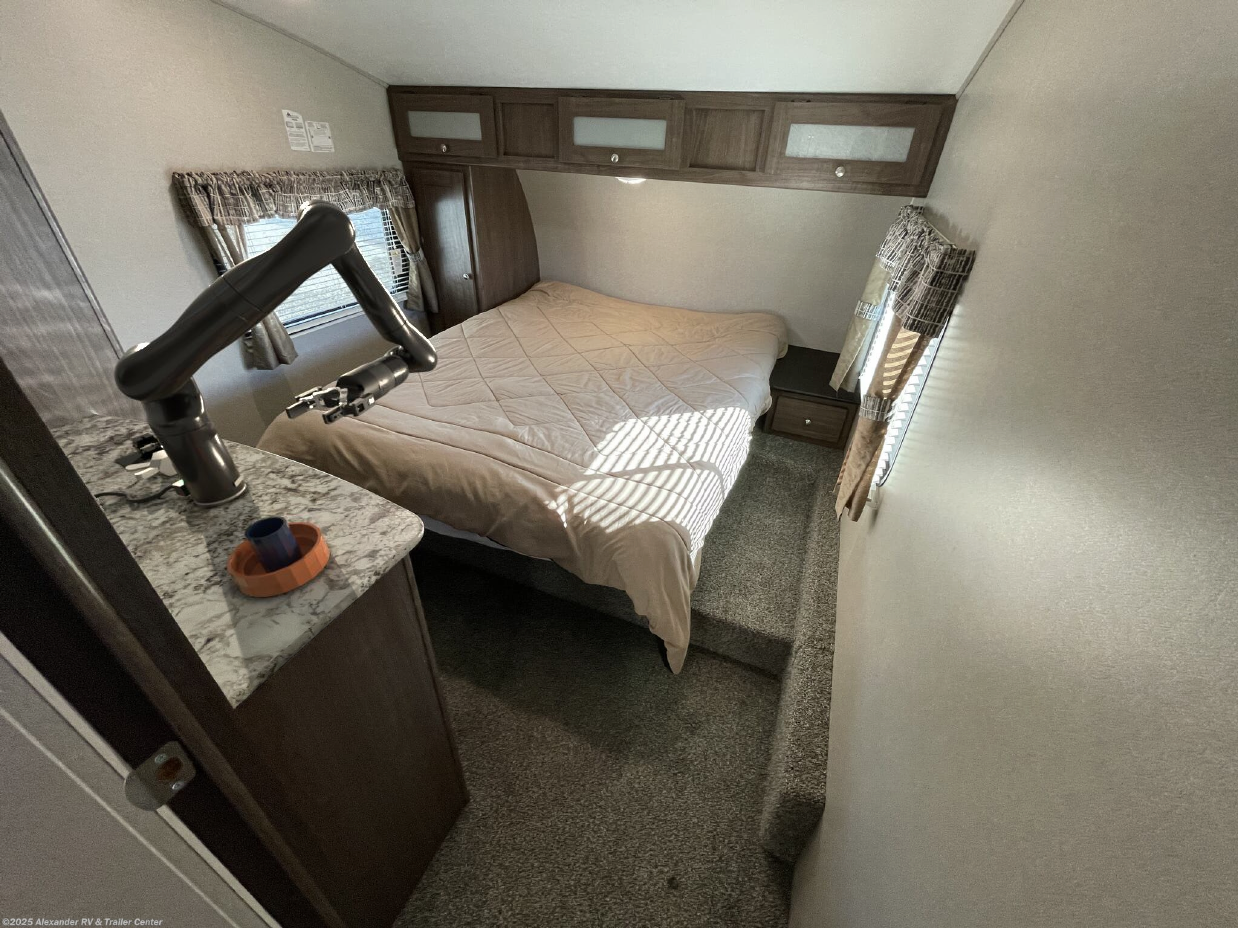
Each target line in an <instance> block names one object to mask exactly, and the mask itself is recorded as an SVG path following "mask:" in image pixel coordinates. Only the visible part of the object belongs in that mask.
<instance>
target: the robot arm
mask: <svg viewBox="0 0 1238 928" xmlns="http://www.w3.org/2000/svg"><path fill="white" fill-rule="evenodd" d="M354 225H355V224H354V223H353V221H352V219H351V218H350V216H348V215H347V214H346V213H345V212H344V210H342V209H341V208H340V207H339V206H337V205H336V204H334V203H333V202H330V201H328V200H325V199H319V198H315V199H314V198H313V199H310V200H307V201H305V202H304V203H302V205H300V206H299V208H298V210H297V214H296V223H295V224H294V226H293V227H292V228H291V229H290V230H289V231H288V232H287V233H285V235H284V236H283V237H282V238H281V239H280V240H278V241H277V242H276V243H275V244H274V245H273V246H271V247H270V248H268V249H266V250H265V251H263V252H261V253H258V254H256V255H254V256H251V257H250V258H248V259H245V260H243V261H241V262H239V263H238V264H236V265H234V266H232V267H231V268H229V269H228V270H227V271H225V272H224V273H222V275H220V276H219V277H218V278H217V279H215V280H214V281H213V282H212V283H210V284H209V285H208V286H207V287H205V289H203V290H202V291H201V293H199V294H198V295H197V296H196V297H195V298H194V299H193V301H192V302H191V303H190V304H189V305H188V306H187V307H186V308H185V310H184V311H183V312H182V313H181V314H180V316H178V318H177V320H175V322H174V323H173V324H172V325H171V326H170V327H169V328H168V329H167V330H166V331H164V332H163V333H162V334H160V335H159V336H158V337H156V338H154V339H153V340H152V341H150V342H143V343H138V344H135V345H133V346H132V347H130V348H128V349H127V350H125V352H124V354H123V355H122V356H121V357H120V358H119V360H118V361H117V362H116V364H115V366H114V370H113V379H114V383H115V386H116V387H117V389H118V390H119V391H120V392H121V393H122V394H123V395H124V396H125V397H127V398H129V399H132V400H134V401H138V402H142V404H143V408H144V410H145V416H146V422H147V425H148V427H149V429H150V430H151V432H152V433H153V436H154V437H156V438H157V440H158V441H159V443H160V445H161V446H162V448H163V449H164V451H165V453H166V454H167V456H168V458H169V459H170V461H171V464H172V466H173V467H174V469H175V471H176V472H177V474H176V475H177V476H178V478H179V480H177V481H176V482H174V483H173V484H170V485H168V486H165V487H164V488H162V489H160V491H159V492H157V493H155V494H152V495H150V496H147V497H142V498H133V496H132V495H131V494H130V493H128V492H121V491H105V492H104V491H102V492H98V493H95V494H93V495H94V496H95V497H96V498H97V499H99V498H101V497H108V496H109V497H111V496H112V497H122V498H123V497H124V498H126V500H127V502H128V503H131V504H139V503H145V502H149V501H153V500H156V499H157V498H160V497H162V496H163V495H165V494H166V493H167V492H169V491H171V490H172V489H173V490H174V491H175V493H176V495H177V496H179V497H184V498H187V497H189V496H190V497H191V499H192V500H193V502H194V504H195V505H196V506H197V507H200V508H213V507H214V508H215V507H217V506H221V505H225V504H228V503H230V502H232V501H234V500H236V499H238V498H240V497H241V496H242V495H243V494H244V493H245V492H246V491H247V489H248V485H247V484H246V482H245V480H244V479H245V477H244V474H243V473H240V470H239V469H238V468H237V465H236V464H235V462H234V459H233V457H232V456H231V454H230V452H229V450H228V448H227V447H226V445H225V443H224V441H223V439H222V437H221V435H220V434H219V432H218V430H217V429H218V428H216V426H215V424H214V422H213V420H212V418H211V416H210V414H209V411H208V409H207V405H206V401H205V399H204V396H203V394H202V393H201V390H200V388H199V386H198V383H197V382H196V379H195V378H194V375H195V374H196V373H197V372H198V371H199V370H200V369H201V368H202V367H203V366H204V365H205V364H206V363H207V362H208V361H209V360H211V359H212V358H213V357H214V356H216V355H217V354H219V353H220V352H221V351H223V350H225V349H226V348H227V347H229V346H230V345H233V344H234V343H235V342H236V341H238V340H239V339H241V338H242V337H243V336H244V335H246V334H247V333H248V332H250V331H251V330H253V329H254V328H256V327H257V325H259V324H260V323H262V321H264V320H265V319H266V318H268V316H269V315H271V314H272V313H273V312H274V311H275V310H277V308H278V307H280V306H281V305H282V304H284V302H285V301H287V300H288V298H290V297H291V296H292V295H293V294H294V293H295V292H296V291H297V290H298V289H299V288H300V287H301V286H302V285H303V284H304V283H305V282H306V281H307V280H308V279H310V278H311V277H313V276H314V275H315V274H317V273H319V272H320V271H322V270H323V269H325V268H326V267H328V266H330V265H331V266H332V267H333V268H334V270H335V271H336V272H337V273H338V274H339V276H340V278H341V279H342V280H343V281H344V283H345V285H346V286H347V288H348V289H349V290H350V292H351V294H352V296H353V297H354V298H355V300H356V302H357V304H358V305H359V307H360V308H361V310H362V311H363V313H364V314H365V316H366V318H367V319H368V321H369V322H370V323H371V325H372V326H373V327H374V329H375V330H376V331H377V333H378V335H379V336H380V337H381V338H382V339H383V341H385V342H386V343H389V344H394V345H395V346H394V347H391V348H390V350H388V351H387V352H386V353H385V354H384V355H383V356H381V357H378V358H377V359H375V360H373V361H371V362H367V363H364V364H362V365H360V366H358V367H356V368H354V369H353V370H350V371H348V372H346V373H344V374H342V375H340V376H339V377H338V378H337V380H336V382H335V385H334V386H333V387H328V388H327V389H326V390H323V387H322V386H320V385H319V386H318V385H317V386H315V387H313V388H311V389H309V390H307V391H304V392H302V393H300V394H298V395H295V396H294V398H295V399H294V400H295V401H296V402H295V403H294V404H292V405H290V406H288V407H286V408H285V413H286V415H287V418H288V419H290V420H295V419H296V418H298V417H300V416H302V415H304V414H305V413H308V412H310V411H315V410H318V411H321V412H322V411H324V410H327V411H325V412H323V413H322V414H321V417H322V420H323V423H324V424H325V425H329V426H330V425H333V423H335V422H336V421H339V420H340V419H343V418H348V417H350V416H351V415H352V416H353V418H357V417H359V416H361V415H363V414H364V413H366V412H368V410H370V409H372V408H373V407H374V406H376V402H377V401H378V400H379V399H381V398H383V397H385V396H386V395H387V394H389V393H390V392H391V391H392V390H393V389H395V388H397V387H399V386H400V385H403V383H405V382H406V381H407V379H408V378H409V376H410V374H419V373H429V372H432V371H434V370H435V369H436V368H437V366H438V362H439V358H438V353H437V350H436V349H435V347H434V345H433V344H432V343H431V341H430V340H428V338H427V337H425V336H424V334H423V333H421V332H420V330H418V328H416V327H415V326H414V325H412V324H411V323H410V321H409V320H408V318H407V316H406V315H405V313H404V312H403V310H402V308H401V307H400V306H399V304H398V303H397V301H396V300H395V298H394V297H393V296H392V294H391V292H390V291H389V290H388V288H387V287H386V286H385V285H384V283H383V282H382V281H381V280H380V278H379V277H378V276H377V274H376V273H375V272H374V270H373V269H372V267H371V266H370V264H369V263H368V261H367V260H366V258H365V256H364V255H363V253H362V251H361V249H360V247H359V246H358V243H357V241H356V237H357V236H356V235H357V233H356V228H355V226H354ZM321 402H323V404H322V403H321Z"/></svg>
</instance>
